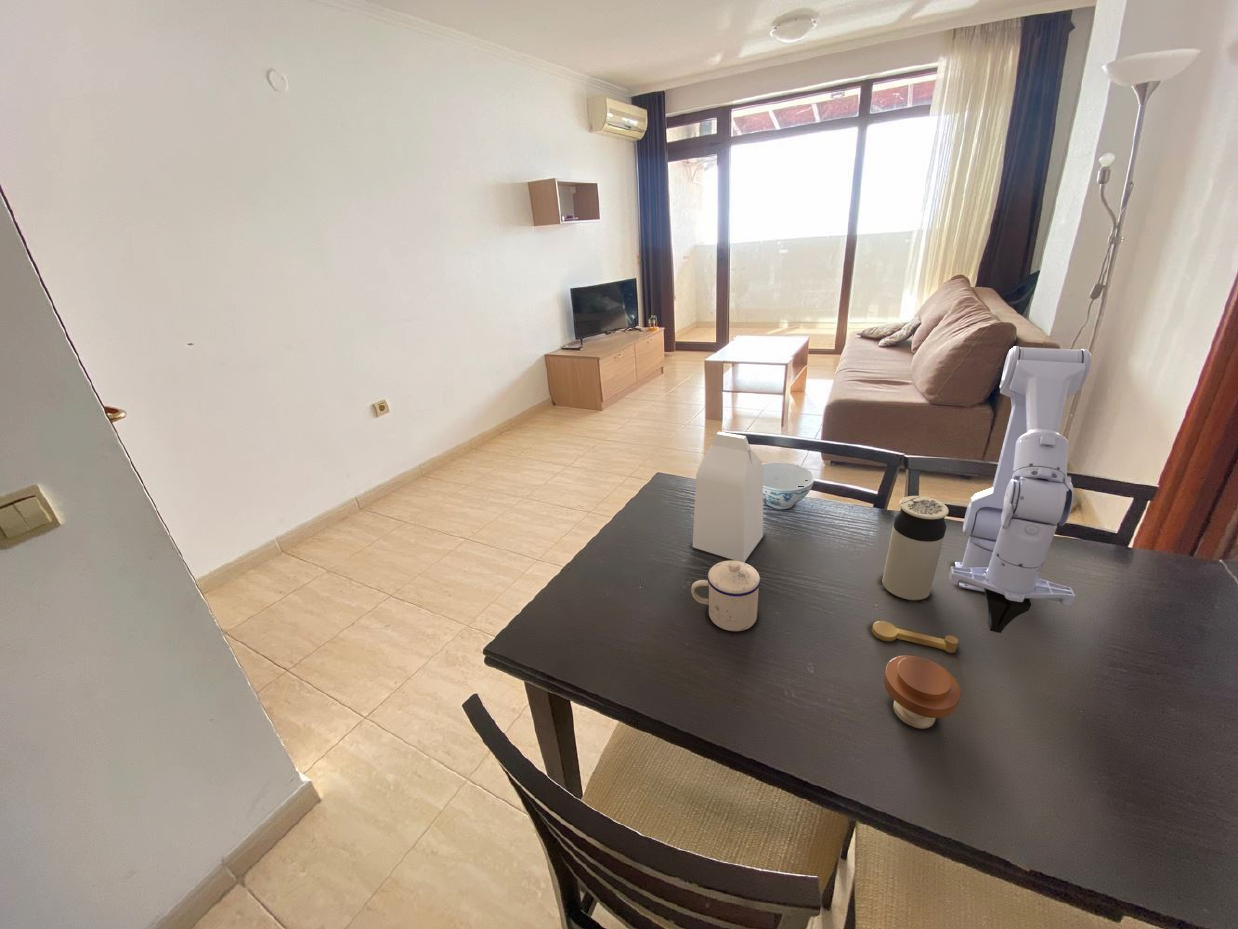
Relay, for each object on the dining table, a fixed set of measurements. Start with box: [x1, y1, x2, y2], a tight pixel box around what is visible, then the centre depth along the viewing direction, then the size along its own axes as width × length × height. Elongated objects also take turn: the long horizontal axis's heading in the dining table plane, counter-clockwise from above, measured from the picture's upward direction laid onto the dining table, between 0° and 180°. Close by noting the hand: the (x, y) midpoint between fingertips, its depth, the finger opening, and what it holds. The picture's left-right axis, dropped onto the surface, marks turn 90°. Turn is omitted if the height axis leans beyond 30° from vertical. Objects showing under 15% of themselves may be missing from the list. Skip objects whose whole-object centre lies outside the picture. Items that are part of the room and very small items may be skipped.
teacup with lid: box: [690, 559, 761, 632], centre depth 89 cm, size 12×9×12 cm
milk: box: [692, 431, 764, 563], centre depth 107 cm, size 12×12×26 cm
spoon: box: [871, 620, 959, 654], centre depth 83 cm, size 12×4×2 cm, turn 65°
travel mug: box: [881, 495, 950, 601], centre depth 91 cm, size 8×8×18 cm
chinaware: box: [762, 461, 815, 510], centre depth 124 cm, size 15×15×8 cm
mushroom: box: [883, 654, 962, 729], centre depth 70 cm, size 9×9×8 cm
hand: (994, 627), depth 77 cm, fingers closed
